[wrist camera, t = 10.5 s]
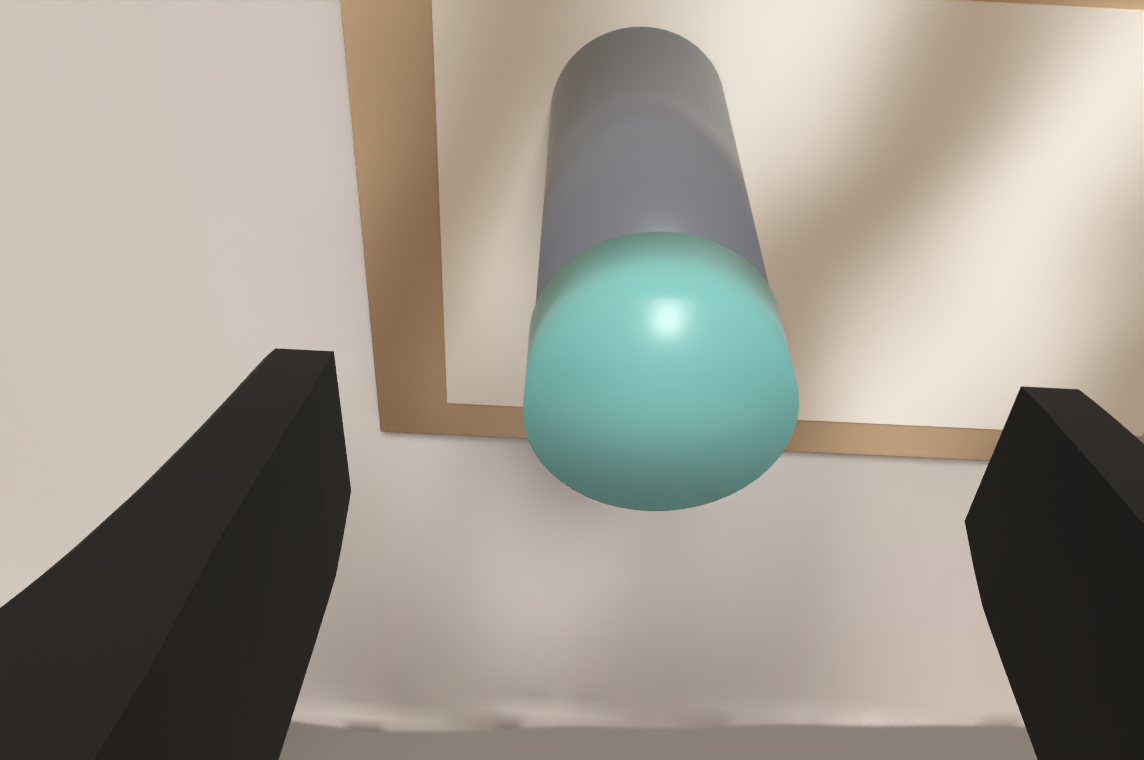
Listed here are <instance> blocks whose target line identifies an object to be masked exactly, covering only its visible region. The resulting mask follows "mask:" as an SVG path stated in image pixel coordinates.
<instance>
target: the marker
mask: <svg viewBox="0 0 1144 760" xmlns="http://www.w3.org/2000/svg"><path fill="white" fill-rule="evenodd" d="M798 411H799V391H798V386H797V382H796V378H795V373H794V369H793V365H792V361H791V357H790V353H789V348H788V344H787V340H786V336H785V332H784V328H783V324H782V319H781V315H780V311H779V307H778V303H777V301H776V299H775V296H774V294H773V291H772V290H771V288H770V286H769V283H768V279H767V274H766V270H765V266H764V262H763V257H762V253H761V249H760V245H759V240H758V236H757V232H756V228H755V223H754V219H753V215H752V211H751V206H750V202H749V198H748V193H747V189H746V185H745V181H744V176H743V172H742V168H741V164H740V159H739V155H738V151H737V147H736V142H735V138H734V134H733V130H732V125H731V121H730V117H729V112H728V108H727V104H726V100H725V95H724V91H723V87H722V83H721V80H720V78H719V75H718V73H717V71H716V69H715V67H714V66H713V64H712V62H711V61H710V60H709V59H708V57H707V56H706V55H705V54H704V53H703V52H702V51H701V50H700V49H699V48H698V47H697V46H696V45H694V44H693V43H692V42H690V41H689V40H687V39H685V38H683V37H682V36H680V35H678V34H675V33H673V32H670V31H667V30H663V29H659V28H653V27H628V28H622V29H618V30H614V31H611V32H608V33H606V34H603V35H601V36H599V37H597V38H595V39H594V40H592V41H590V42H589V43H587V44H586V45H585V46H583V47H582V48H581V49H580V50H578V51H577V52H576V53H575V54H574V56H573V57H572V58H571V59H570V60H569V61H568V63H567V64H566V65H565V67H564V68H563V70H562V72H561V74H560V76H559V77H558V80H557V82H556V85H555V88H554V92H553V96H552V102H551V115H550V128H549V140H548V153H547V166H546V178H545V191H544V204H543V216H542V229H541V242H540V255H539V267H538V280H537V293H536V305H535V307H534V310H533V313H532V317H531V322H530V329H529V341H528V353H527V365H526V377H525V389H524V401H523V419H524V426H525V430H526V433H527V437H528V439H529V442H530V444H531V446H532V448H533V450H534V452H535V453H536V455H537V456H538V458H539V459H540V461H541V462H542V463H543V464H544V466H545V467H546V468H547V469H548V470H549V471H550V472H551V473H552V474H553V475H554V476H555V477H557V478H558V479H559V480H560V481H561V482H563V483H564V484H566V485H567V486H569V487H570V488H572V489H573V490H575V491H577V492H579V493H581V494H583V495H585V496H586V497H589V498H591V499H594V500H596V501H599V502H602V503H605V504H609V505H612V506H616V507H621V508H627V509H633V510H644V511H669V510H678V509H686V508H691V507H696V506H700V505H704V504H707V503H710V502H714V501H717V500H719V499H721V498H724V497H726V496H729V495H731V494H733V493H735V492H737V491H738V490H740V489H742V488H744V487H746V486H747V485H749V484H750V483H752V482H753V481H754V480H756V479H757V478H759V477H760V476H761V475H762V474H763V473H764V472H765V471H767V470H768V469H769V468H770V467H771V466H772V465H773V463H774V462H775V461H776V460H777V459H778V458H779V457H780V455H781V454H782V452H783V451H784V449H785V448H786V446H787V445H788V443H789V441H790V439H791V436H792V434H793V432H794V429H795V426H796V422H797V419H798Z"/></svg>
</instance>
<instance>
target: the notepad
mask: <svg viewBox="0 0 1144 760" xmlns="http://www.w3.org/2000/svg"><path fill="white" fill-rule="evenodd" d="M341 10H342V21H343V31H344V42H345V53H346V64H347V74H348V85H349V96H350V106H351V117H352V128H353V139H354V149H355V160H356V171H357V181H358V192H359V203H360V214H361V224H362V235H363V246H364V257H365V267H366V278H367V289H368V299H369V310H370V321H371V332H372V342H373V353H374V364H375V375H376V385H377V396H378V407H379V417H380V428H381V431H383V432H404V433H425V434H446V435H467V436H488V437H509V438H528V437H527V433H526V430H525V426H524V419H523V401H524V389H525V377H526V365H527V353H528V341H529V329H530V322H531V317H532V313H533V310H534V307H535V305H536V293H537V280H538V267H539V255H540V242H541V229H542V216H543V204H544V191H545V178H546V166H547V153H548V140H549V128H550V115H551V102H552V96H553V92H554V88H555V85H556V82H557V80H558V77H559V76H560V74H561V72H562V70H563V68H564V67H565V65H566V64H567V63H568V61H569V60H570V59H571V58H572V57H573V56H574V54H575V53H576V52H577V51H578V50H580V49H581V48H582V47H583V46H585V45H586V44H587V43H589V42H590V41H592V40H594V39H595V38H597V37H599V36H601V35H603V34H606V33H608V32H611V31H614V30H618V29H622V28H628V27H653V28H659V29H663V30H667V31H670V32H673V33H675V34H678V35H680V36H682V37H683V38H685V39H687V40H689V41H690V42H692V43H693V44H694V45H696V46H697V47H698V48H699V49H700V50H701V51H702V52H703V53H704V54H705V55H706V56H707V57H708V59H709V60H710V61H711V62H712V64H713V66H714V67H715V69H716V71H717V73H718V75H719V78H720V80H721V83H722V87H723V91H724V95H725V100H726V104H727V108H728V112H729V117H730V121H731V125H732V130H733V134H734V138H735V142H736V147H737V151H738V155H739V159H740V164H741V168H742V172H743V176H744V181H745V185H746V189H747V193H748V198H749V202H750V206H751V211H752V215H753V219H754V223H755V228H756V232H757V236H758V240H759V245H760V249H761V253H762V257H763V262H764V266H765V270H766V274H767V279H768V283H769V286H770V288H771V290H772V291H773V294H774V296H775V299H776V301H777V303H778V307H779V311H780V315H781V319H782V324H783V328H784V332H785V336H786V340H787V344H788V348H789V353H790V357H791V361H792V365H793V369H794V373H795V378H796V382H797V386H798V391H799V411H798V419H797V422H796V426H795V429H794V432H793V434H792V436H791V439H790V441H789V443H788V445H787V446H786V448H785V449H784V451H805V452H826V453H847V454H868V455H889V456H910V457H931V458H952V459H973V460H990V459H991V457H992V454H993V452H994V450H995V447H996V445H997V442H998V440H999V438H1000V435H1001V433H1002V430H1003V428H1004V426H1005V423H1006V421H1007V418H1008V416H1009V414H1010V411H1011V409H1012V406H1013V404H1014V402H1015V399H1016V397H1017V394H1018V392H1019V390H1020V387H1021V386H1024V387H1043V388H1063V389H1079V390H1080V391H1082V392H1083V393H1084V394H1085V395H1087V396H1088V397H1089V398H1091V399H1092V400H1093V401H1094V402H1096V403H1097V404H1098V405H1099V406H1101V407H1102V408H1103V409H1104V410H1105V411H1107V412H1108V413H1109V414H1110V415H1111V416H1112V417H1114V418H1115V419H1116V420H1117V421H1118V422H1120V423H1121V424H1122V425H1123V426H1124V427H1125V428H1126V429H1128V430H1129V431H1130V432H1131V433H1132V434H1133V435H1134V436H1136V437H1137V438H1138V439H1139V440H1140V441H1141V442H1143V443H1144V0H341Z"/></svg>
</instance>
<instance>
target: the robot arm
mask: <svg viewBox="0 0 1144 760" xmlns="http://www.w3.org/2000/svg"><path fill="white" fill-rule="evenodd" d="M350 494H351V487H350V479H349V471H348V462H347V454H346V446H345V438H344V430H343V422H342V414H341V406H340V398H339V390H338V382H337V374H336V366H335V358H334V352H333V351H313V350H294V349H274V350H273V351H272V352H271V353H270V354H269V355H267V356H266V357H265V358H264V359H263V360H262V362H261V363H260V364H259V365H258V366H257V367H256V368H255V369H254V370H253V371H252V372H251V373H250V374H249V376H248V377H247V378H246V379H245V380H244V381H243V382H242V383H241V384H240V385H239V386H238V388H237V389H236V390H235V391H234V392H233V393H232V394H231V395H230V396H229V397H228V398H227V399H226V401H225V402H224V403H223V404H222V405H221V406H220V407H219V408H218V409H217V410H216V411H215V412H214V413H213V414H212V415H211V417H210V418H209V419H208V420H207V421H206V422H205V423H204V424H203V425H202V426H201V427H200V428H199V429H198V430H197V431H196V432H195V433H194V434H193V436H192V437H191V438H190V439H189V440H188V441H187V442H186V443H185V444H184V445H183V446H182V447H181V448H180V449H179V450H178V451H177V452H176V453H175V454H174V455H173V456H172V457H171V458H170V459H169V460H168V461H167V462H166V463H165V464H164V465H163V466H162V467H161V468H160V469H159V470H158V471H157V472H156V473H155V474H154V475H153V476H152V477H151V478H150V479H149V480H148V481H147V482H146V483H145V484H144V485H143V486H142V487H140V488H139V489H138V490H137V491H136V492H135V493H134V494H133V495H132V496H131V497H130V498H129V499H128V500H127V501H125V502H124V503H123V504H122V505H121V506H120V507H119V508H118V509H117V510H116V511H114V512H113V513H112V514H111V515H110V516H109V517H108V518H107V519H106V520H105V521H103V522H102V523H101V524H100V525H99V526H98V527H97V528H96V529H95V530H94V531H92V532H91V533H90V534H89V535H88V536H87V537H86V538H85V539H84V540H83V541H81V542H80V543H79V544H78V545H77V546H76V547H75V548H74V549H72V550H71V551H70V552H69V553H68V554H67V555H65V556H64V557H63V558H62V559H61V560H59V561H58V562H57V563H56V564H55V565H53V566H52V567H51V568H50V569H49V570H47V571H46V572H45V573H44V574H43V575H41V576H40V577H39V578H38V579H36V580H35V581H34V582H33V583H32V584H30V585H29V586H28V587H27V588H25V589H24V590H23V591H22V592H20V593H19V594H18V595H16V596H15V597H14V598H13V599H11V600H10V601H9V602H7V603H6V604H5V605H3V606H2V607H1V608H0V760H278V759H279V756H280V753H281V750H282V747H283V744H284V740H285V737H286V734H287V731H288V727H289V725H290V721H291V718H292V715H293V712H294V709H295V706H296V702H297V699H298V696H299V693H300V690H301V686H302V683H303V680H304V677H305V674H306V671H307V667H308V664H309V661H310V658H311V655H312V652H313V648H314V645H315V642H316V639H317V635H318V632H319V629H320V626H321V623H322V619H323V616H324V613H325V610H326V606H327V603H328V600H329V597H330V593H331V590H332V587H333V583H334V580H335V577H336V572H337V567H338V561H339V556H340V551H341V546H342V540H343V535H344V529H345V523H346V517H347V511H348V506H349V500H350ZM965 525H966V530H967V535H968V540H969V546H970V551H971V556H972V561H973V566H974V571H975V575H976V580H977V584H978V589H979V593H980V597H981V602H982V606H983V609H984V612H985V615H986V618H987V621H988V624H989V627H990V630H991V632H992V635H993V638H994V641H995V644H996V646H997V649H998V652H999V655H1000V658H1001V660H1002V663H1003V666H1004V669H1005V672H1006V675H1007V677H1008V680H1009V683H1010V685H1011V688H1012V691H1013V694H1014V696H1015V699H1016V702H1017V704H1018V707H1019V710H1020V713H1021V715H1022V718H1023V721H1024V724H1025V726H1026V729H1027V732H1028V734H1029V737H1030V740H1031V742H1032V745H1033V748H1034V751H1035V754H1036V756H1037V759H1038V760H1144V443H1143V442H1141V441H1140V440H1139V439H1138V438H1137V437H1136V436H1134V435H1133V434H1132V433H1131V432H1130V431H1129V430H1128V429H1126V428H1125V427H1124V426H1123V425H1122V424H1121V423H1120V422H1118V421H1117V420H1116V419H1115V418H1114V417H1112V416H1111V415H1110V414H1109V413H1108V412H1107V411H1105V410H1104V409H1103V408H1102V407H1101V406H1099V405H1098V404H1097V403H1096V402H1094V401H1093V400H1092V399H1091V398H1089V397H1088V396H1087V395H1085V394H1084V393H1083V392H1082V391H1080V390H1079V389H1063V388H1043V387H1024V386H1021V387H1020V390H1019V392H1018V394H1017V397H1016V399H1015V402H1014V404H1013V406H1012V409H1011V411H1010V414H1009V416H1008V418H1007V421H1006V423H1005V426H1004V428H1003V430H1002V433H1001V435H1000V438H999V440H998V442H997V445H996V447H995V450H994V452H993V454H992V457H991V459H990V462H989V464H988V466H987V469H986V471H985V474H984V476H983V478H982V481H981V483H980V486H979V488H978V490H977V493H976V495H975V498H974V500H973V502H972V505H971V507H970V510H969V512H968V514H967V517H966V519H965Z"/></svg>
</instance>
